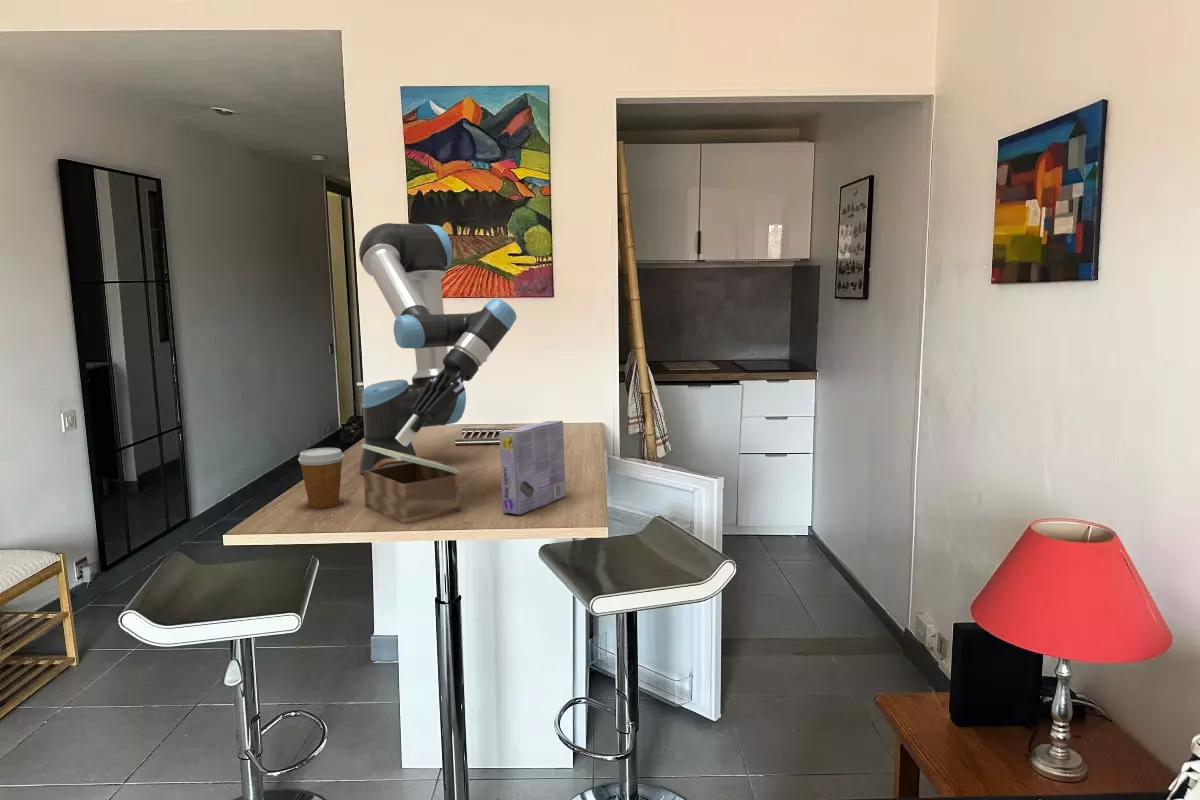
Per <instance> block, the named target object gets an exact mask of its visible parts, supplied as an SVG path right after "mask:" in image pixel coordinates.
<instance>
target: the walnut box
mask: <svg viewBox="0 0 1200 800" xmlns="http://www.w3.org/2000/svg"><path fill="white" fill-rule="evenodd" d="M363 474H364V475H363V488H364V489H363V490H364V505H365V507H366V508H368V509H370V510H373V511H375V512H377V513H379V514H381V515H384V516H386V517H388V518H390V519H392V520H394V521H396V522H399V523H400V524H401V523H402V524H404V525H405V524H409V523H414V522H418V521H422V520H426V519H428V520H429V519H431V518H436V516H437V517H440V516H439V515H441V516H444V515H443V514H446V515H448V514H447V513H450V514H452V513H451V512H455V511H459V510H460V509H461V506H460V504H461V503H460V486H459V483H460V482H459V473H455V472H451V471H447V470H442V469H438V468H434V467H430V466H425V465H421V464H417V463H413V462H412V463H406V464H400V465H395V466H389V467H383V468H377V469H371V470H365V471H363ZM460 511H461V510H460ZM460 511H459V512H460ZM455 513H456V512H455Z"/></svg>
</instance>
